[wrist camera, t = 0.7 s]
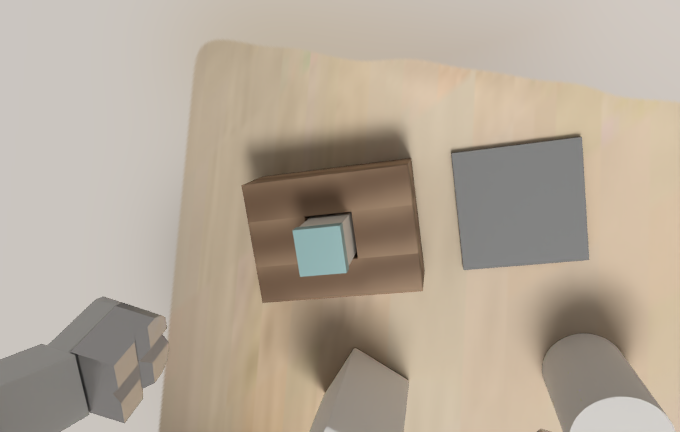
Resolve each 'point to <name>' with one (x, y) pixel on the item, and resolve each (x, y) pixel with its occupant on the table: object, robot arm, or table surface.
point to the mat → (521, 204)
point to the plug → (325, 244)
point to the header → (368, 221)
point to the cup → (599, 388)
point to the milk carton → (363, 398)
